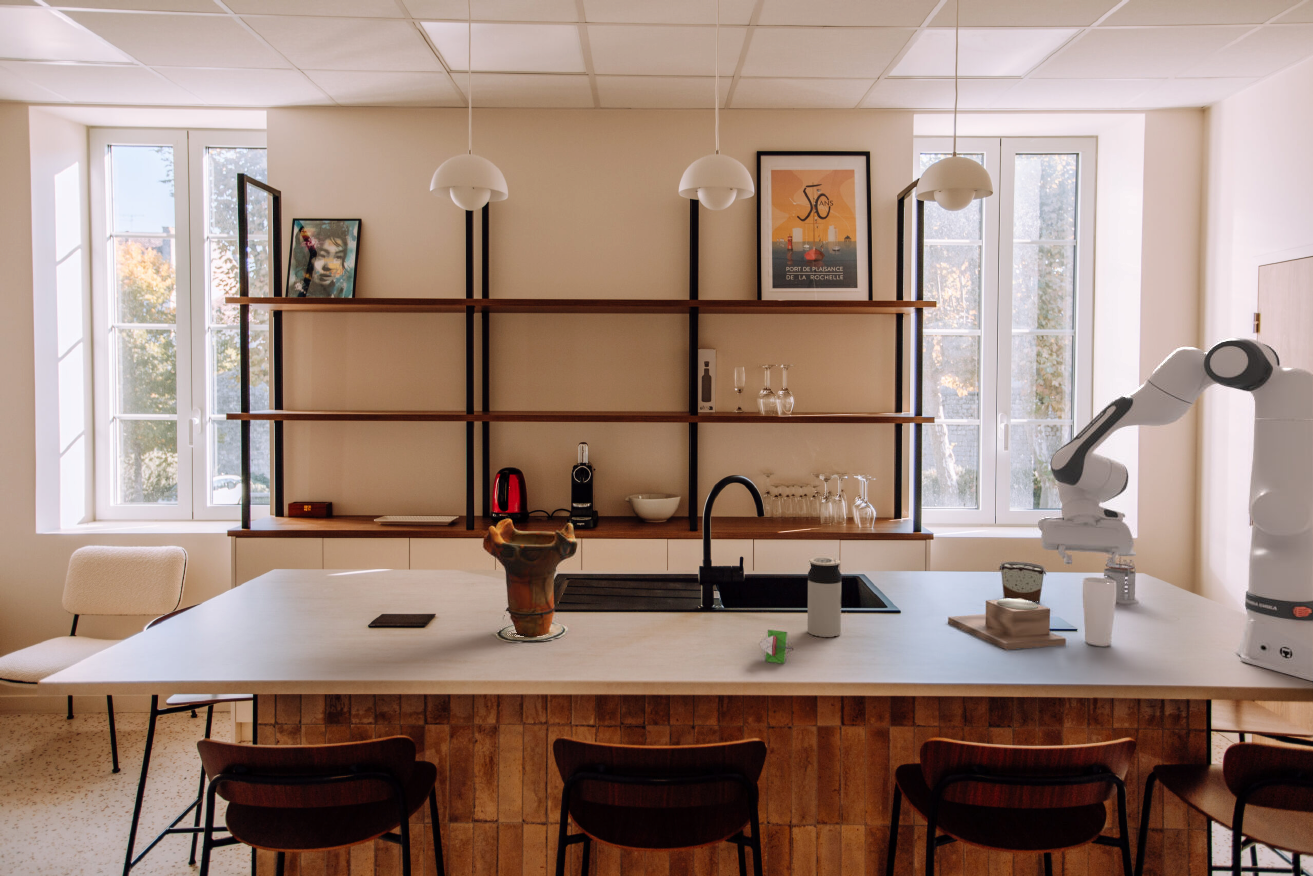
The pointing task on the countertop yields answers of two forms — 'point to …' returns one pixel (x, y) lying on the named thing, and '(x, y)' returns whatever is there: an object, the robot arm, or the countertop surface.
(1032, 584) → the food container
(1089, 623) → the drinking glass
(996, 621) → the walnut display stand
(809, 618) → the travel mug
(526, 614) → the decorative vase
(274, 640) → the countertop surface
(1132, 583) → the french press
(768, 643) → the geometric puzzle
